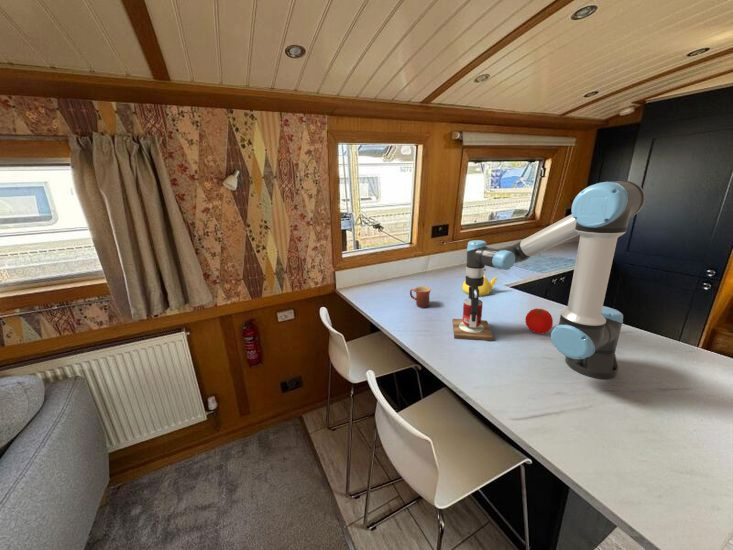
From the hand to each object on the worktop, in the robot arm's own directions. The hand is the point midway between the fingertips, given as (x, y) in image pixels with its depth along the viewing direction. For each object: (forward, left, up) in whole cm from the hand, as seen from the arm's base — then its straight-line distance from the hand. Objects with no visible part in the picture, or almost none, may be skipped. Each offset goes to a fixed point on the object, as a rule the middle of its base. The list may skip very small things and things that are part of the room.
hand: (471, 322), depth 132 cm
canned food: (0, 0, 0) cm, 0 cm away
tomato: (+4, -29, -5) cm, 30 cm away
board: (0, 0, -4) cm, 4 cm away
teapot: (+53, -10, -5) cm, 54 cm away
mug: (+27, +25, -5) cm, 37 cm away
